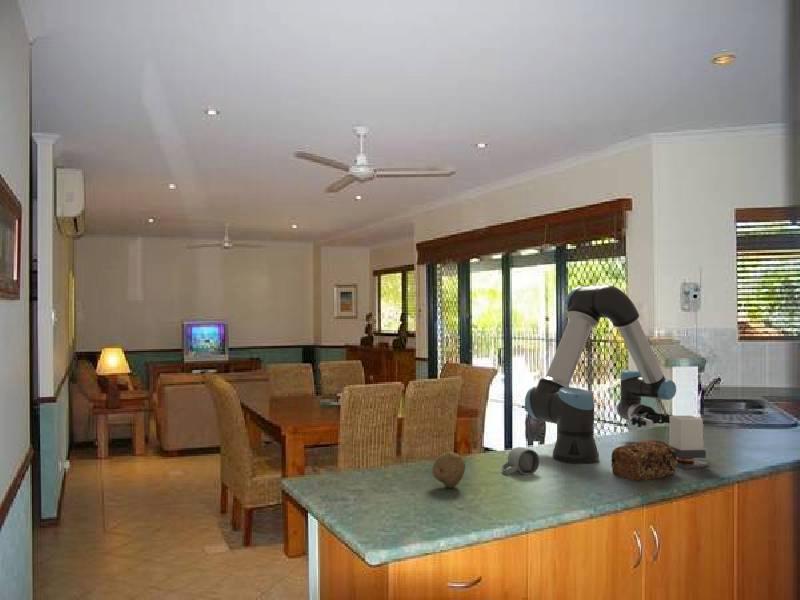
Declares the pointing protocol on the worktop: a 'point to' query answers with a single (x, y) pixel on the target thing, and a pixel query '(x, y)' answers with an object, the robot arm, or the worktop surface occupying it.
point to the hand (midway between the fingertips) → (670, 424)
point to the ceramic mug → (522, 461)
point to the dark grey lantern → (690, 463)
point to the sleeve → (686, 432)
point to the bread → (644, 460)
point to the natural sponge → (449, 469)
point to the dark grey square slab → (690, 453)
